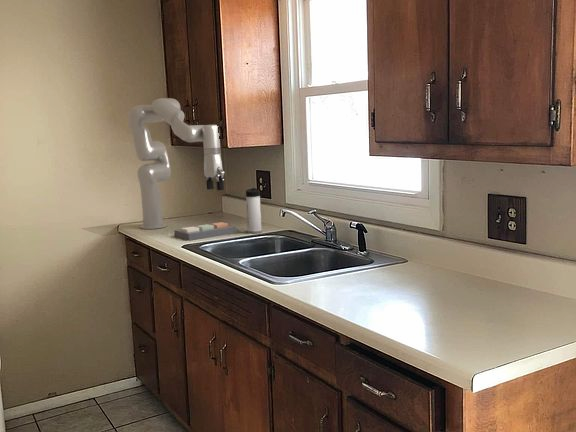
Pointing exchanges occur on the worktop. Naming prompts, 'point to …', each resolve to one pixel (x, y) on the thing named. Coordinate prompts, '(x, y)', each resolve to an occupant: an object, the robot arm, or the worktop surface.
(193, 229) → the cream key
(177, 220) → the worktop surface
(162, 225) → the robot arm
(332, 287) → the worktop surface
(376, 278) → the worktop surface
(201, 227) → the sage key
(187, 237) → the keypad console
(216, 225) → the terracotta key
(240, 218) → the worktop surface
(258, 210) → the travel mug
